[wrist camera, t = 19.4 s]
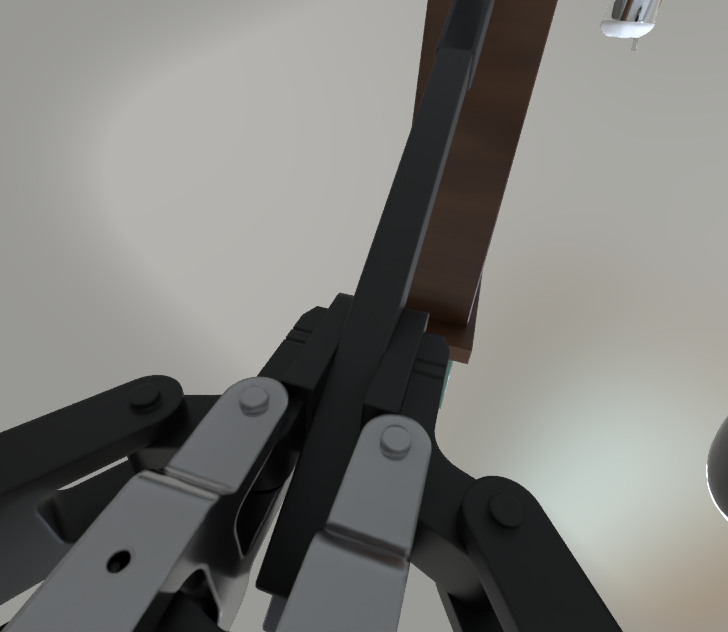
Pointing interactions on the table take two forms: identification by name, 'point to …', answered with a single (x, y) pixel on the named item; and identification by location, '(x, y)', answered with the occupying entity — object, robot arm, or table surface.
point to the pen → (374, 305)
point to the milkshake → (630, 18)
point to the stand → (475, 163)
